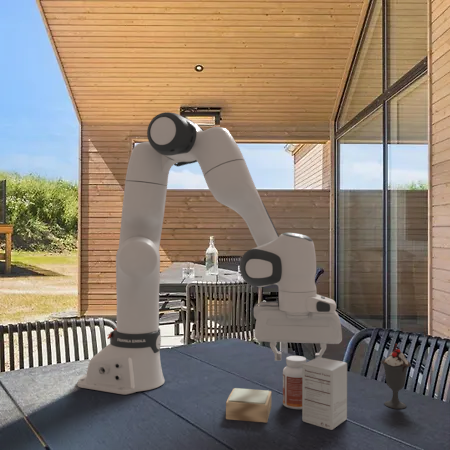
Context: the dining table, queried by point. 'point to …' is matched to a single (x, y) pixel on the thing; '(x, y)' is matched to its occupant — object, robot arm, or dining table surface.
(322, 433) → the dining table surface
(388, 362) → the sundae
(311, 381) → the supplement box
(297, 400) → the pill bottle
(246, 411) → the plinth
